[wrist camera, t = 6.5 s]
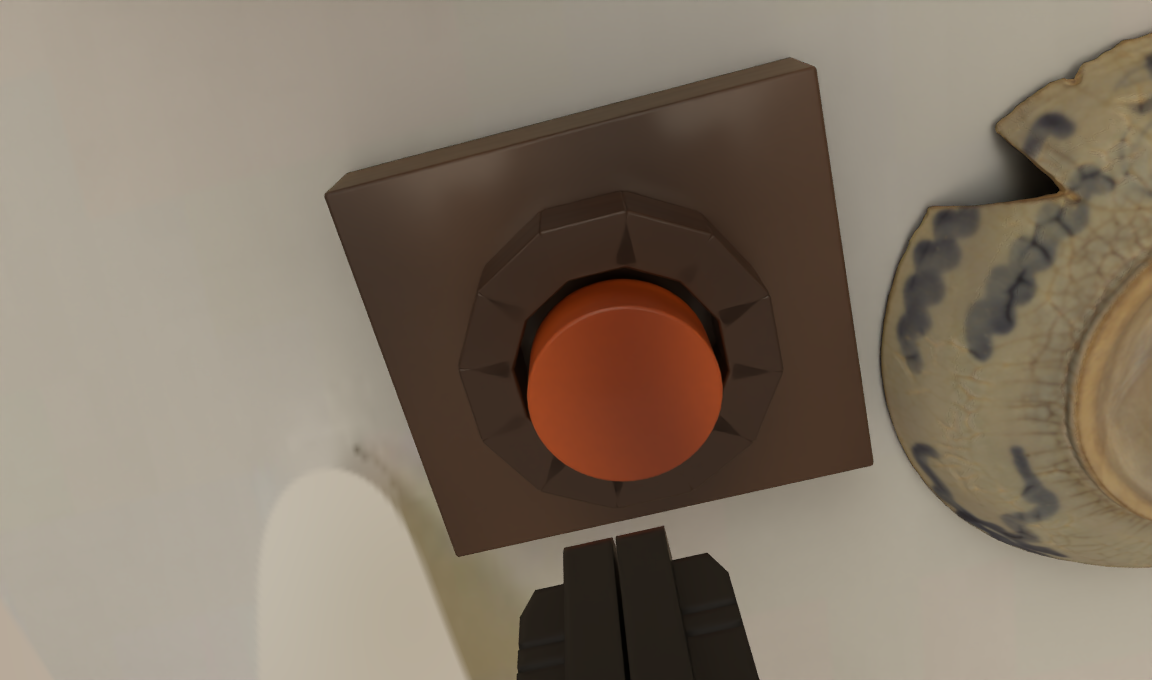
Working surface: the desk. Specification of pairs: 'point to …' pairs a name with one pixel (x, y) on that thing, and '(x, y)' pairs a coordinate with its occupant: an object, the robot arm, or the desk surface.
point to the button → (623, 381)
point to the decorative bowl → (1041, 331)
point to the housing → (602, 252)
